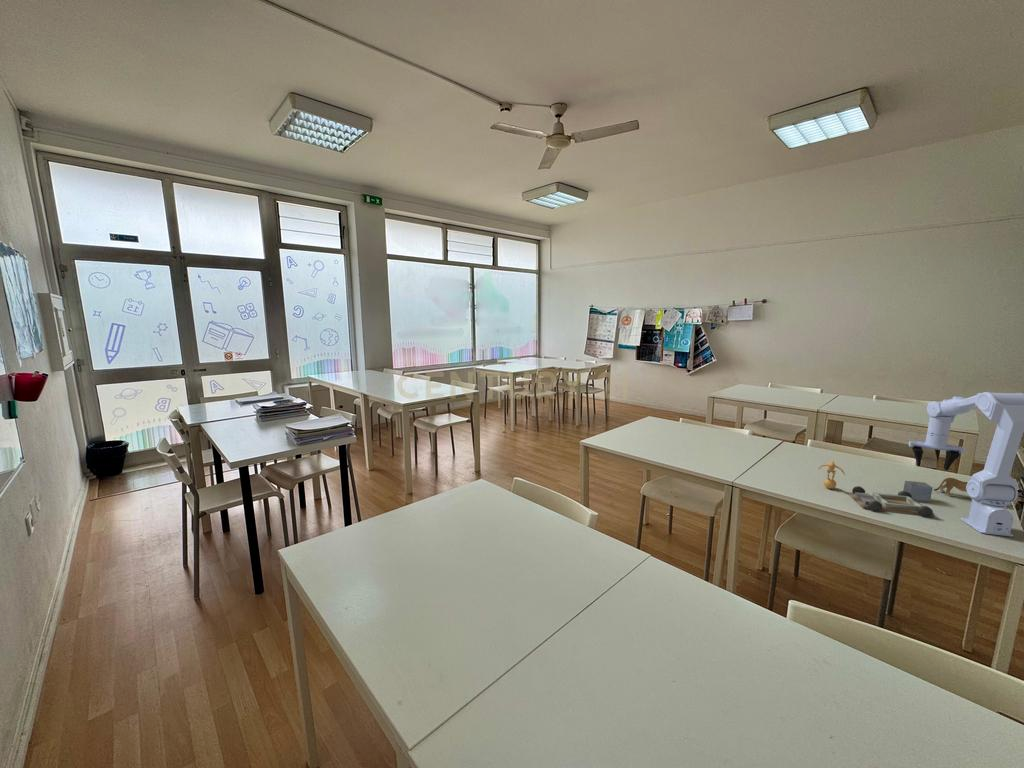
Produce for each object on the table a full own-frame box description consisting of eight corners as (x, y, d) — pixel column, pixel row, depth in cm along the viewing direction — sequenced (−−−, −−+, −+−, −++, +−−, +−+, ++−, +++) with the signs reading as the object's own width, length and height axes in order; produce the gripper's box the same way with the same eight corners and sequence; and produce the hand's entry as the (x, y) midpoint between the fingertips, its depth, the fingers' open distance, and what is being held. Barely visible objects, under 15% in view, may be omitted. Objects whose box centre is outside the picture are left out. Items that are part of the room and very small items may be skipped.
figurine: (843, 489, 163) (847, 460, 161) (841, 494, 158) (845, 465, 156) (817, 483, 168) (820, 455, 166) (814, 488, 164) (818, 459, 162)
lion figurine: (989, 501, 151) (994, 478, 150) (990, 506, 148) (996, 482, 146) (933, 489, 162) (937, 467, 160) (932, 493, 158) (936, 471, 157)
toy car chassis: (936, 518, 140) (938, 508, 139) (864, 510, 146) (866, 500, 146) (912, 500, 153) (914, 491, 152) (847, 494, 159) (849, 485, 158)
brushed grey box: (929, 502, 151) (932, 487, 150) (909, 500, 153) (912, 485, 152) (922, 497, 155) (924, 482, 154) (902, 495, 157) (905, 480, 156)
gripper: (961, 433, 155) (954, 467, 157) (908, 427, 162) (903, 460, 165) (968, 438, 149) (961, 473, 151) (913, 432, 156) (908, 466, 159)
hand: (931, 467), depth 158 cm, fingers open, 7 cm apart
